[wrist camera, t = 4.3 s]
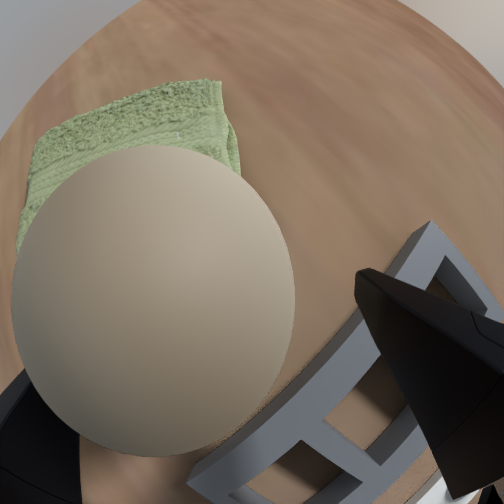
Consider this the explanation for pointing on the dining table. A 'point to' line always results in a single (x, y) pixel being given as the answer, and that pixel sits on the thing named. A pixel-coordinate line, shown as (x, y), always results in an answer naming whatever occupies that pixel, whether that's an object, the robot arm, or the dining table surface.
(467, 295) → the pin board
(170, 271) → the birch peg
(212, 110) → the washcloth
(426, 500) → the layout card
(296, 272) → the dining table surface
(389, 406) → the dining table surface
